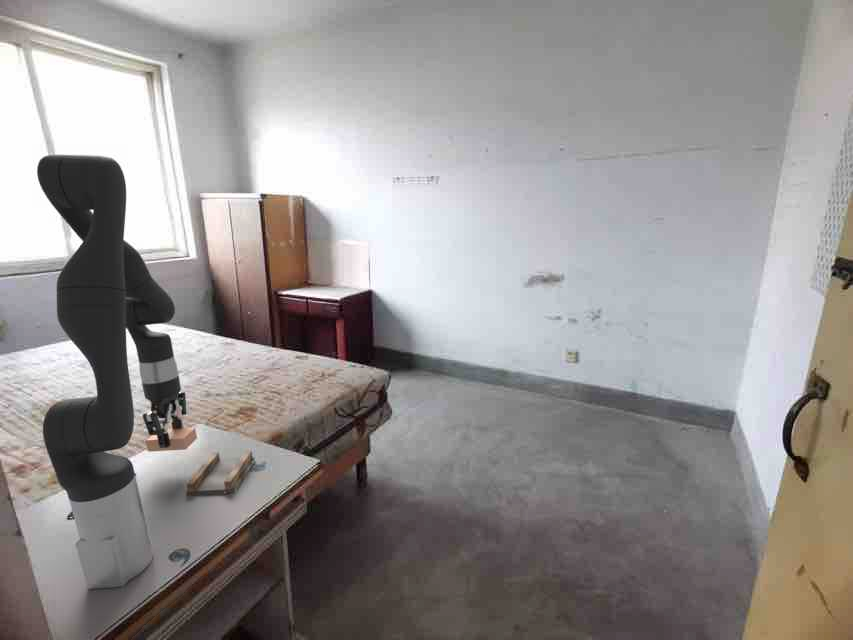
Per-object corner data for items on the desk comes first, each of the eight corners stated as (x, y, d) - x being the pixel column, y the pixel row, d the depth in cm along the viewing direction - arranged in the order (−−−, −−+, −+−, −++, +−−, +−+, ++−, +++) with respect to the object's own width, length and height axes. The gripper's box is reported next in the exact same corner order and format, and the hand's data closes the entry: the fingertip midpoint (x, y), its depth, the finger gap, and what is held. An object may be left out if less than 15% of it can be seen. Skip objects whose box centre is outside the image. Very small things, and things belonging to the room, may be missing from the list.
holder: (234, 492, 95) (232, 481, 94) (186, 495, 94) (184, 484, 94) (255, 460, 107) (253, 450, 107) (212, 463, 107) (210, 452, 106)
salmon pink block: (197, 438, 104) (195, 427, 104) (185, 449, 99) (183, 438, 98) (161, 440, 104) (159, 429, 103) (147, 451, 99) (145, 440, 98)
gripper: (158, 387, 91) (171, 455, 94) (191, 366, 105) (201, 426, 108) (123, 388, 90) (138, 457, 94) (161, 367, 104) (173, 427, 108)
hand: (172, 440), depth 101 cm, fingers closed on salmon pink block, 5 cm apart
